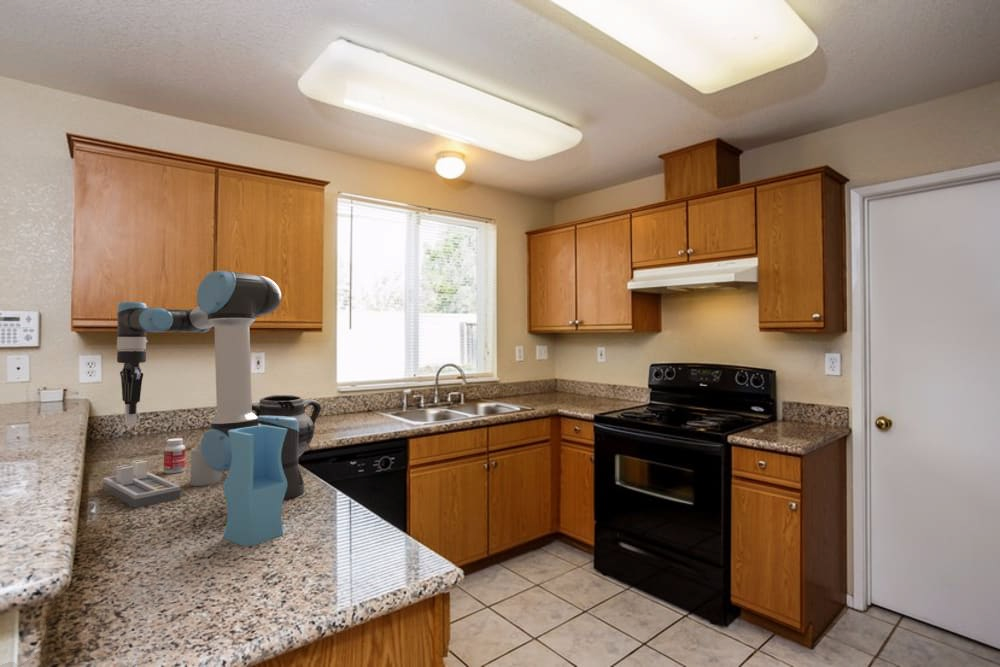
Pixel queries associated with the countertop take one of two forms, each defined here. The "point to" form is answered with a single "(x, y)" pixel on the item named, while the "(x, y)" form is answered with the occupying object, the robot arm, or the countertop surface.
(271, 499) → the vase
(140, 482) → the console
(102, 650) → the countertop surface
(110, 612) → the countertop surface
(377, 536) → the countertop surface
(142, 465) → the fader
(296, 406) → the ceramic pot
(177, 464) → the pill bottle
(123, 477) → the fader
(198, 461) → the mug
